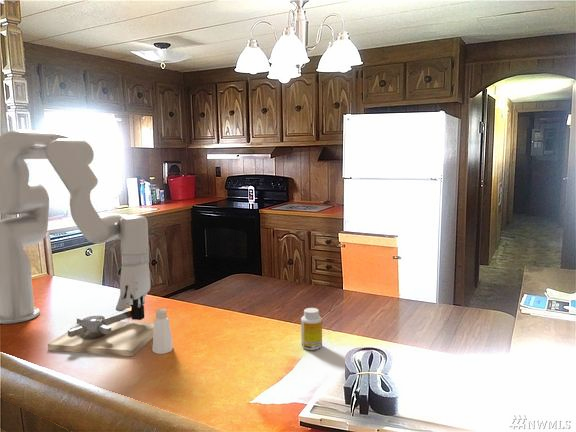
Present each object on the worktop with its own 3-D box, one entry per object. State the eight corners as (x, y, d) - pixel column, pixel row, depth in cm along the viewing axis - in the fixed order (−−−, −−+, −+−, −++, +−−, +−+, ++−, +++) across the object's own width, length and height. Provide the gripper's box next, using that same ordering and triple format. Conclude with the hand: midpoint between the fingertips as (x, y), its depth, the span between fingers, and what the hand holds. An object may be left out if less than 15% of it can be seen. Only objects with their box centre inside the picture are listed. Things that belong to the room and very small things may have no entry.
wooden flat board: (48, 349, 118) (47, 339, 118) (88, 324, 136) (87, 314, 135) (132, 356, 115) (131, 345, 114) (162, 329, 132) (162, 319, 132)
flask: (131, 311, 147) (130, 282, 145) (111, 310, 148) (109, 281, 147) (142, 304, 154) (141, 276, 152) (123, 303, 155) (122, 275, 154)
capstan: (85, 350, 114) (84, 333, 113) (55, 337, 122) (54, 322, 121) (149, 324, 130) (148, 310, 130) (119, 315, 138) (118, 301, 138)
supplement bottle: (326, 348, 119) (325, 311, 118) (307, 352, 116) (307, 314, 115) (315, 341, 124) (315, 305, 123) (298, 345, 121) (297, 308, 120)
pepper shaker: (154, 355, 115) (152, 315, 113) (150, 347, 120) (148, 308, 118) (175, 351, 117) (173, 311, 116) (170, 343, 122) (169, 305, 120)
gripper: (136, 252, 137) (138, 309, 140) (109, 264, 122) (112, 327, 125) (159, 253, 136) (161, 310, 139) (134, 265, 121) (137, 329, 124)
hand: (138, 318), depth 132 cm, fingers closed
